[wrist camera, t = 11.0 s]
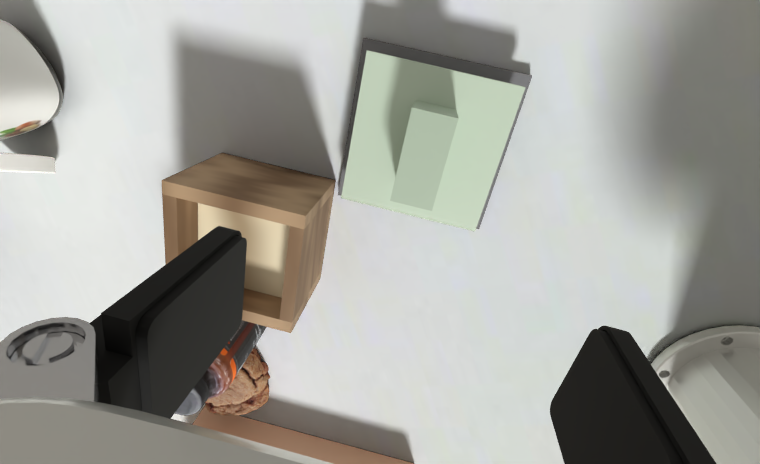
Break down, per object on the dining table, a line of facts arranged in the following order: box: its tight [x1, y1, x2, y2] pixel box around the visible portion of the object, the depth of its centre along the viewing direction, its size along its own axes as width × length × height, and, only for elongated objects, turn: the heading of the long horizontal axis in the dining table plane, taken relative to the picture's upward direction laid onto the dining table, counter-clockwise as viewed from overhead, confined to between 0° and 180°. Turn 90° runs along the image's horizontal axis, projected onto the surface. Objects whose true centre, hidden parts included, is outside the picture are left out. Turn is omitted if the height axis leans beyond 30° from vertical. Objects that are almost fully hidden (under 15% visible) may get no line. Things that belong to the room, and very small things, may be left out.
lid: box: [341, 50, 526, 231], centre depth 27 cm, size 11×11×6 cm
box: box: [162, 153, 336, 333], centre depth 32 cm, size 10×10×8 cm
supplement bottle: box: [175, 320, 266, 415], centre depth 35 cm, size 6×6×11 cm
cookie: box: [205, 348, 270, 416], centre depth 43 cm, size 10×11×3 cm
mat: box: [338, 38, 532, 229], centre depth 30 cm, size 12×12×1 cm
